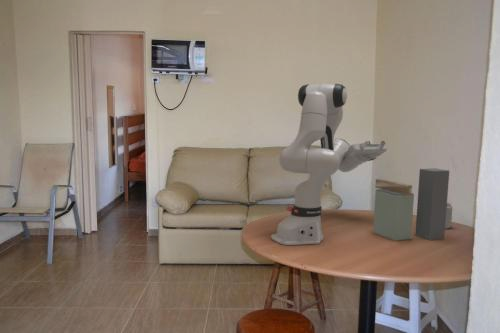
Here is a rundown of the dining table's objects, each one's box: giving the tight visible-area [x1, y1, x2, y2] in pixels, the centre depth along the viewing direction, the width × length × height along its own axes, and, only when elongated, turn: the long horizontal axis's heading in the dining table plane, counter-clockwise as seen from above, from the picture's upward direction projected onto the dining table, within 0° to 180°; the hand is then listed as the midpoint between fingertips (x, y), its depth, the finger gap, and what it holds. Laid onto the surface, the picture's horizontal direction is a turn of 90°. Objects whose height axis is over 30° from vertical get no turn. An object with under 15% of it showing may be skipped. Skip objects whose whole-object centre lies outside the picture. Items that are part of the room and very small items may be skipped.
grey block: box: [372, 188, 415, 242], centre depth 197 cm, size 9×14×20 cm, turn 25°
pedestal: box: [415, 167, 450, 241], centre depth 195 cm, size 9×8×30 cm
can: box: [445, 202, 453, 230], centre depth 213 cm, size 8×8×12 cm
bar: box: [374, 178, 413, 195], centre depth 196 cm, size 2×20×4 cm, turn 25°
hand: (376, 142), depth 210 cm, fingers open, 8 cm apart
